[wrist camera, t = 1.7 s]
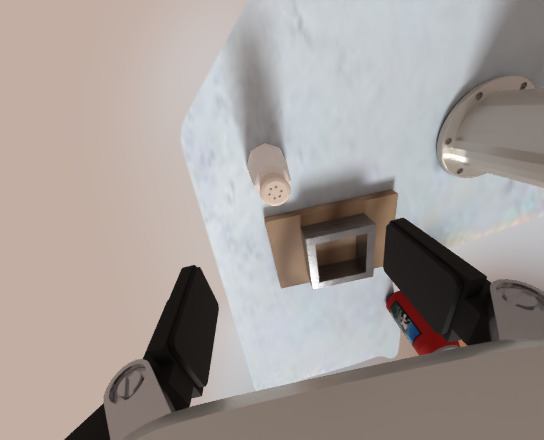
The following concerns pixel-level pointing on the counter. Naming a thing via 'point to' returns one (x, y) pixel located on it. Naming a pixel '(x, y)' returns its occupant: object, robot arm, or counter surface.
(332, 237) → the metal socket
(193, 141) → the counter surface
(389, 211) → the walnut board
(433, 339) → the beverage can
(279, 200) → the salt shaker
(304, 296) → the counter surface
